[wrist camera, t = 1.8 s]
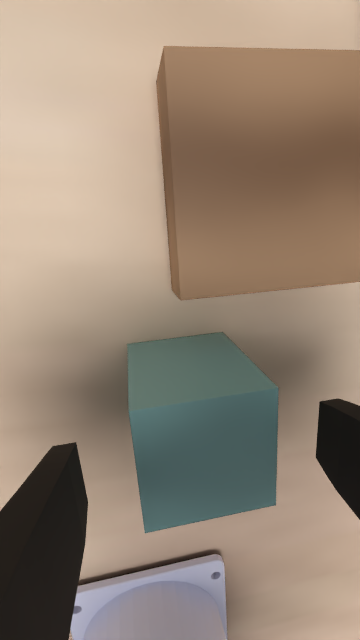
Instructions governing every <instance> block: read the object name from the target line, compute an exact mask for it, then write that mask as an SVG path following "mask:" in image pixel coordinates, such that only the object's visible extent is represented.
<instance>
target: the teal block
mask: <svg viewBox="0 0 360 640" xmlns="http://www.w3.org/2000/svg"><path fill="white" fill-rule="evenodd" d="M127 349H128V404H129V418H130V425H131V433H132V440H133V448H134V455H135V463H136V470H137V477H138V485H139V492H140V500H141V507H142V515H143V522H144V530H145V533H148V532H153V531H157V530H162V529H167V528H171V527H176V526H181V525H185V524H190V523H195V522H199V521H204V520H209V519H213V518H218V517H223V516H227V515H232V514H237V513H241V512H246V511H251V510H255V509H260V508H265V507H269V506H274V505H276V474H277V431H278V387H277V386H276V385H275V384H274V383H273V382H272V381H271V380H270V379H269V378H268V377H267V376H266V375H265V374H264V373H263V372H262V371H261V370H260V369H259V368H258V367H257V366H256V365H255V364H254V363H253V362H252V361H251V360H250V359H249V358H248V357H247V356H246V355H245V354H244V353H243V352H242V351H241V350H240V349H239V348H238V347H237V346H236V345H235V344H234V343H233V342H232V341H231V340H230V339H229V338H228V337H227V336H226V335H225V334H224V333H223V332H219V333H211V334H203V335H195V336H187V337H179V338H171V339H163V340H155V341H147V342H139V343H131V344H127Z"/></svg>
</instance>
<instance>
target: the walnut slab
mask: <svg viewBox="0 0 360 640" xmlns="http://www.w3.org/2000/svg"><path fill="white" fill-rule="evenodd" d="M156 84H157V97H158V111H159V124H160V137H161V151H162V164H163V177H164V191H165V204H166V217H167V231H168V244H169V257H170V271H171V284H172V291H173V292H174V293H175V294H176V295H177V296H178V298H179V299H180V300H189V299H199V298H208V297H218V296H228V295H237V294H247V293H256V292H266V291H276V290H285V289H295V288H305V287H314V286H324V285H333V284H343V283H353V282H360V50H317V49H272V48H226V47H181V46H164V48H163V52H162V57H161V62H160V67H159V71H158V76H157V81H156Z"/></svg>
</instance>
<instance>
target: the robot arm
mask: <svg viewBox="0 0 360 640" xmlns="http://www.w3.org/2000/svg"><path fill="white" fill-rule="evenodd" d="M316 458H317V460H318V462H319V463H320V465H321V467H322V468H323V470H324V472H325V473H326V475H327V477H328V478H329V480H330V481H331V483H332V484H333V486H334V487H335V489H336V490H337V492H338V493H339V494H340V495H341V497H342V498H343V499H344V500H345V502H346V503H347V504H348V506H349V507H350V508H351V509H352V511H353V512H354V513H355V514H356V516H357V517H358V518H359V519H360V406H358V405H356V404H353V403H350V402H347V401H344V400H341V399H332V400H326V401H320V405H319V419H318V433H317V448H316ZM87 508H88V500H87V495H86V490H85V485H84V480H83V475H82V470H81V465H80V460H79V455H78V450H77V445H76V442H75V443H69V444H63V445H57V446H53V447H52V448H51V449H50V450H49V451H48V453H47V454H46V455H45V456H44V457H43V459H42V460H41V461H40V463H39V464H38V465H37V466H36V468H35V469H34V470H33V471H32V473H31V474H30V475H29V476H28V478H27V479H26V480H25V482H24V483H23V484H22V485H21V487H20V488H19V489H18V490H17V492H16V493H15V494H14V495H13V496H12V498H11V499H10V500H9V501H8V502H7V504H6V505H5V506H4V507H3V508H2V510H1V511H0V640H68V639H69V633H70V630H71V634H72V638H73V640H227V617H226V593H225V568H224V562H223V559H222V557H221V556H220V555H218V554H212V555H208V556H204V557H199V558H195V559H191V560H187V561H182V562H178V563H174V564H170V565H165V566H161V567H157V568H153V569H148V570H144V571H140V572H136V573H131V574H127V575H123V576H118V577H114V578H110V579H106V580H101V581H97V582H93V583H89V584H84V585H80V586H78V582H79V576H80V570H81V564H82V559H83V553H84V547H85V537H86V524H87Z"/></svg>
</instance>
